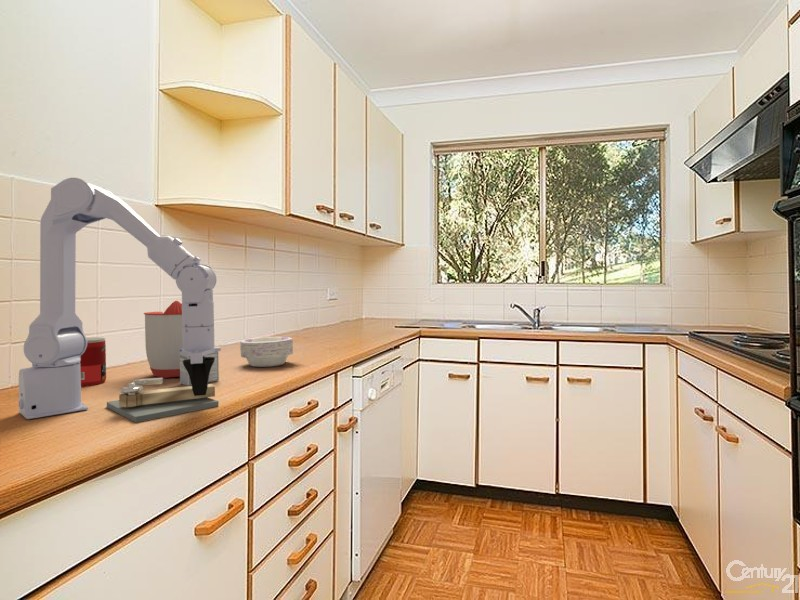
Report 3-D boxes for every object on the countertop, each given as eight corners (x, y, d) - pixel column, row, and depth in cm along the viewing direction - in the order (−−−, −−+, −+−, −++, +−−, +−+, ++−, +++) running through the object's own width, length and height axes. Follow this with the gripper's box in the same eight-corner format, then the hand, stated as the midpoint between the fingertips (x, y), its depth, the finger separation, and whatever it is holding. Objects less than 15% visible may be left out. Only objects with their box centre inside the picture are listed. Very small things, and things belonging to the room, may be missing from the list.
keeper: (162, 403, 95) (161, 379, 95) (133, 406, 93) (132, 380, 93) (163, 401, 97) (162, 377, 96) (134, 404, 95) (134, 379, 95)
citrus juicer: (201, 366, 140) (200, 299, 139) (214, 375, 125) (213, 300, 124) (141, 372, 131) (140, 300, 130) (148, 382, 116) (146, 301, 116)
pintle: (124, 415, 86) (124, 386, 86) (118, 412, 89) (117, 383, 88) (145, 411, 89) (145, 382, 89) (139, 408, 91) (138, 380, 91)
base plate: (135, 422, 82) (135, 416, 82) (106, 407, 93) (106, 402, 93) (218, 406, 93) (218, 401, 93) (184, 393, 104) (184, 389, 104)
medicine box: (210, 379, 121) (209, 345, 121) (219, 381, 118) (218, 346, 118) (179, 384, 115) (178, 348, 114) (188, 386, 112) (187, 350, 112)
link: (119, 408, 86) (119, 397, 86) (119, 403, 89) (119, 393, 89) (215, 396, 94) (215, 386, 94) (212, 393, 98) (212, 383, 98)
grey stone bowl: (237, 363, 145) (236, 337, 145) (286, 359, 152) (286, 335, 152) (245, 371, 132) (244, 343, 131) (298, 366, 139) (298, 339, 138)
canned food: (110, 383, 116) (109, 338, 116) (71, 388, 110) (70, 341, 110) (101, 379, 122) (100, 336, 121) (63, 384, 116) (62, 339, 115)
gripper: (219, 327, 87) (221, 401, 87) (221, 322, 100) (222, 386, 101) (177, 329, 84) (179, 405, 85) (184, 323, 98) (186, 388, 98)
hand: (200, 395), depth 92 cm, fingers closed
